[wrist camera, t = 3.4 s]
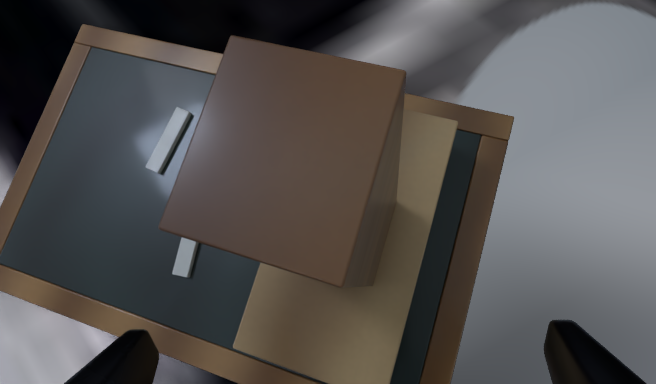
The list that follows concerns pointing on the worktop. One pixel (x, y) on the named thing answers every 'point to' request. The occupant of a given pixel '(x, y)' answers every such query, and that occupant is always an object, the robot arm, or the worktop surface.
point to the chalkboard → (210, 263)
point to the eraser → (314, 203)
